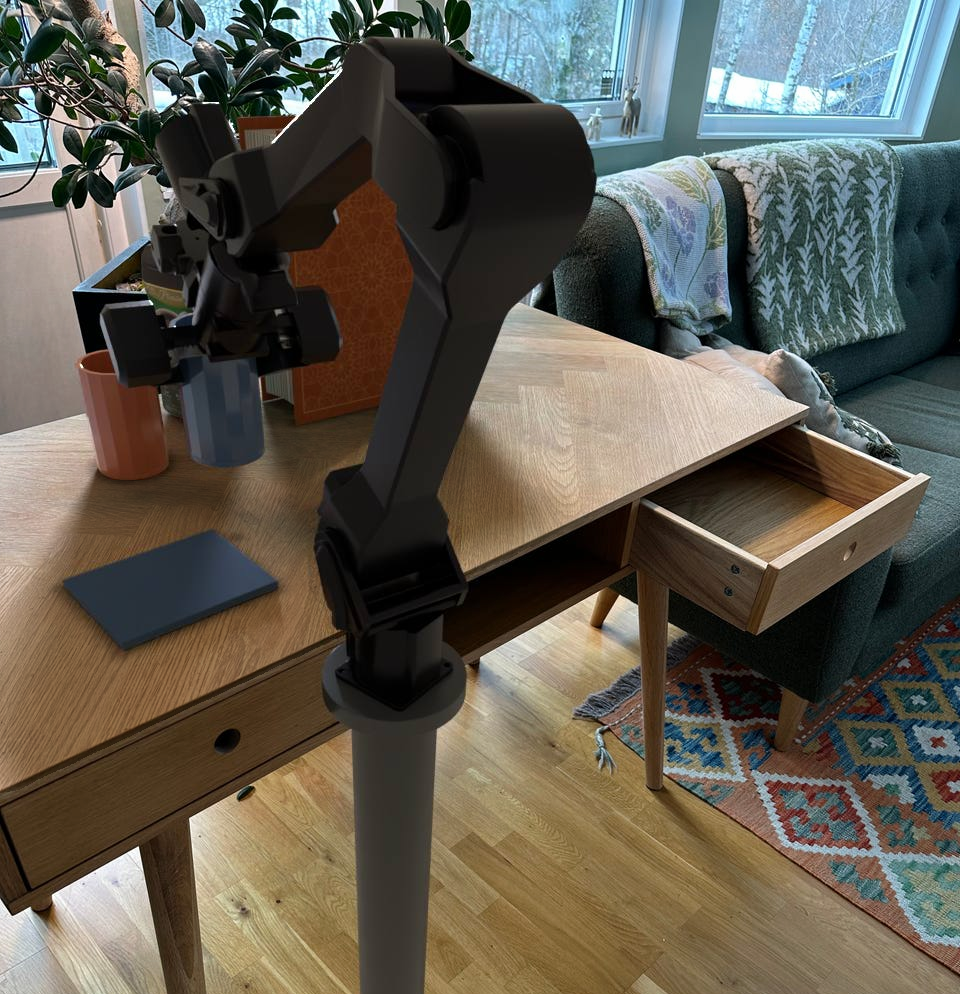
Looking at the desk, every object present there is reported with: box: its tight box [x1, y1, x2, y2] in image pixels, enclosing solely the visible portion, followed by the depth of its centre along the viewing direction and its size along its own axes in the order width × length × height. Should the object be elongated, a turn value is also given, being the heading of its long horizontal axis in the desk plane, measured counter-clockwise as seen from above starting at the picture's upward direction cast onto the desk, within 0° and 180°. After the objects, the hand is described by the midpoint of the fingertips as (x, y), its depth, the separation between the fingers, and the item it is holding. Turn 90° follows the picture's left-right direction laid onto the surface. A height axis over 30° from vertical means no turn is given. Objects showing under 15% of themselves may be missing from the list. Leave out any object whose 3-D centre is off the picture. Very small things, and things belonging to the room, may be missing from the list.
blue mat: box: [61, 528, 279, 651], centre depth 75 cm, size 14×11×1 cm
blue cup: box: [169, 313, 266, 469], centre depth 80 cm, size 7×7×12 cm
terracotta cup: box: [74, 349, 170, 481], centre depth 89 cm, size 7×7×11 cm
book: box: [236, 115, 414, 426], centre depth 102 cm, size 23×8×30 cm, turn 129°
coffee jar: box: [140, 243, 194, 420], centre depth 98 cm, size 10×8×19 cm
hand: (214, 378), depth 81 cm, fingers closed on blue cup, 7 cm apart
